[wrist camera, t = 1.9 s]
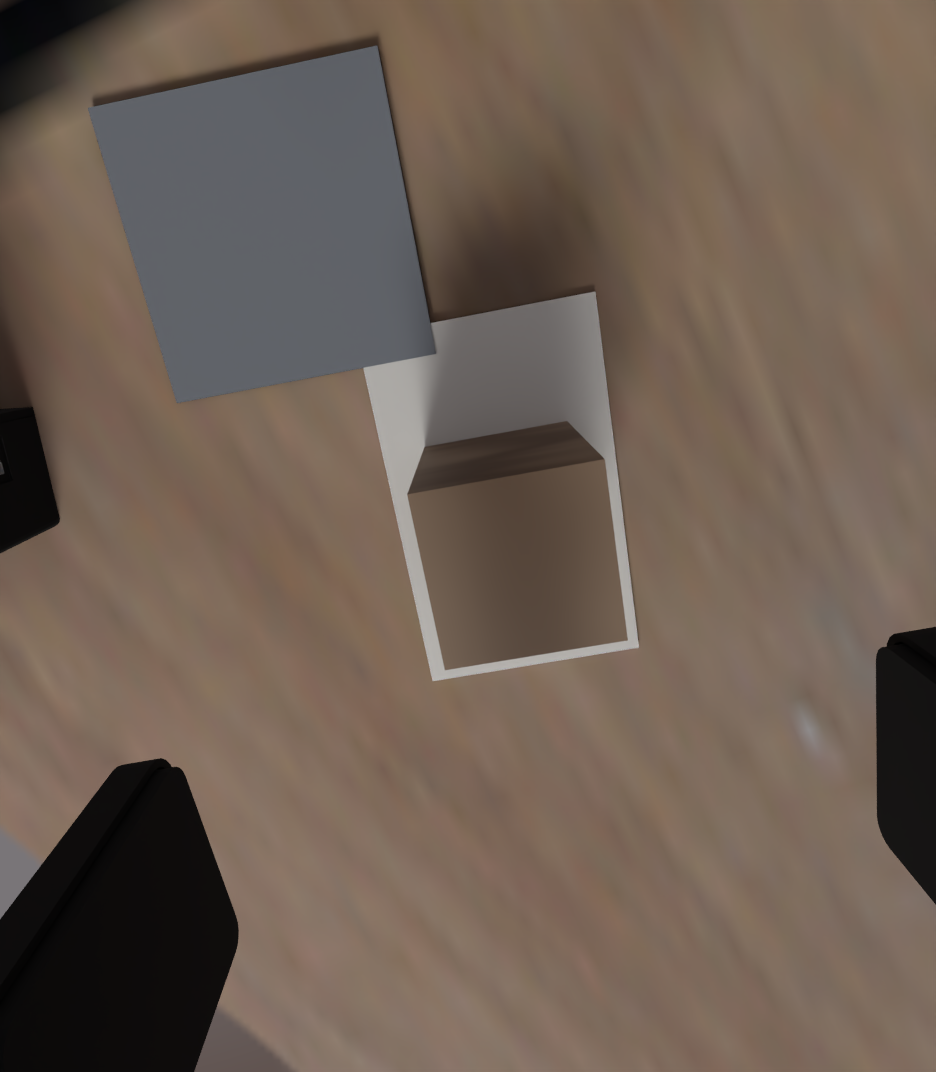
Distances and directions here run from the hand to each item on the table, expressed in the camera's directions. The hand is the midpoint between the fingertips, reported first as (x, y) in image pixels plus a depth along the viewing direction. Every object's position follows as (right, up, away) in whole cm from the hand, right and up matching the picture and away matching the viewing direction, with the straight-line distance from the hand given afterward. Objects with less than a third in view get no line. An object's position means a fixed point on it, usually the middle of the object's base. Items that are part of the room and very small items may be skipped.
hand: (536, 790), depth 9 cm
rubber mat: (-7, +13, +13) cm, 20 cm away
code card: (+1, +5, +16) cm, 16 cm away
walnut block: (0, +5, +15) cm, 16 cm away
